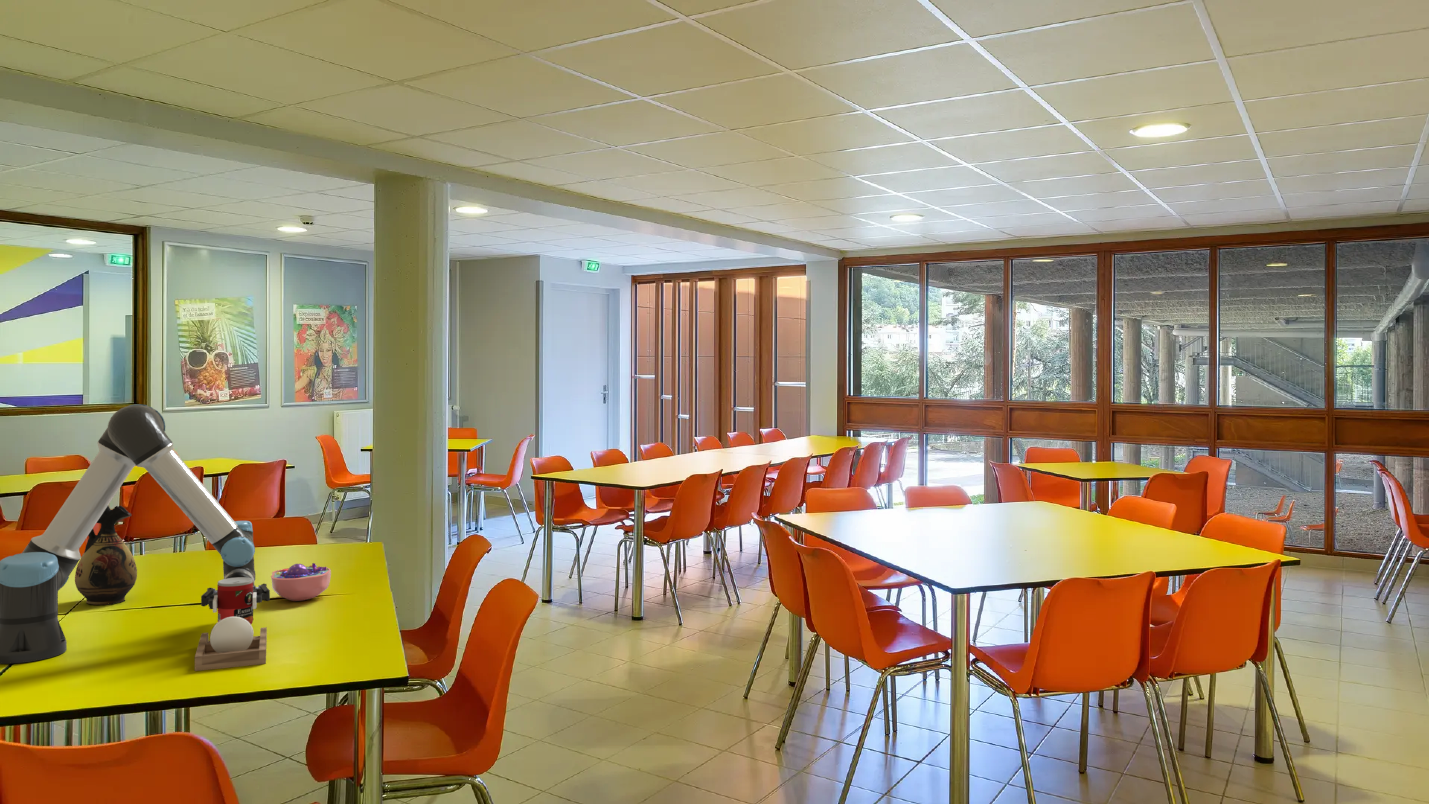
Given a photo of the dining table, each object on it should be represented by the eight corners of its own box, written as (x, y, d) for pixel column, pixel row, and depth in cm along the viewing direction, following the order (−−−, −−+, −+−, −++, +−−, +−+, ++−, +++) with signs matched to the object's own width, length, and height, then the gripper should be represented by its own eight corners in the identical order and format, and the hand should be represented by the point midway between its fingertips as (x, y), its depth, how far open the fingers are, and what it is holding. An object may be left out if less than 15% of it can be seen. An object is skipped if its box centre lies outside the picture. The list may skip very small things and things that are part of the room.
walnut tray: (265, 663, 213) (265, 649, 213) (194, 671, 207) (194, 656, 207) (266, 639, 233) (266, 627, 233) (201, 646, 227) (201, 633, 227)
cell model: (341, 591, 289) (341, 556, 289) (316, 606, 269) (316, 568, 269) (287, 591, 289) (287, 555, 289) (257, 606, 269) (257, 568, 269)
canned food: (238, 629, 221) (238, 584, 221) (210, 628, 223) (209, 582, 223) (260, 621, 229) (260, 577, 228) (232, 620, 230) (232, 576, 230)
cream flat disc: (253, 653, 217) (253, 615, 217) (209, 658, 213) (210, 619, 213) (253, 652, 218) (253, 614, 218) (210, 656, 214) (210, 618, 214)
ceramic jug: (142, 594, 282) (142, 497, 282) (130, 605, 268) (130, 503, 268) (76, 598, 276) (77, 498, 276) (61, 610, 262) (61, 505, 261)
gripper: (281, 596, 246) (282, 615, 226) (193, 604, 237) (185, 625, 217) (281, 568, 246) (282, 585, 226) (193, 575, 237) (185, 593, 217)
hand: (234, 604), depth 221 cm, fingers closed on canned food, 8 cm apart
